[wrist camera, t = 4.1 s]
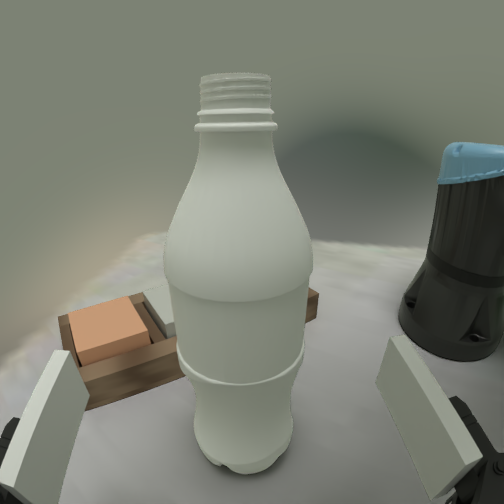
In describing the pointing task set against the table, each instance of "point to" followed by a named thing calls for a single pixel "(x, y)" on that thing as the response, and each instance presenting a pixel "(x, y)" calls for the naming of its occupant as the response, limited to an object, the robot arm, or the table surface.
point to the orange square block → (107, 330)
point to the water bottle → (239, 278)
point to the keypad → (137, 360)
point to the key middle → (160, 309)
